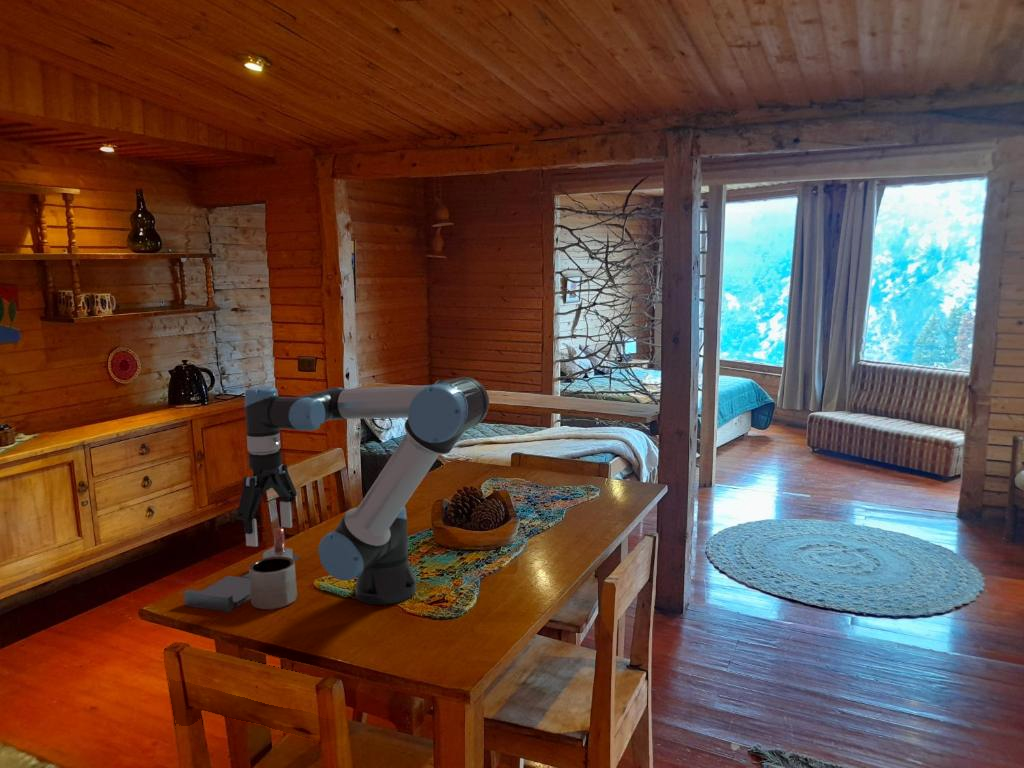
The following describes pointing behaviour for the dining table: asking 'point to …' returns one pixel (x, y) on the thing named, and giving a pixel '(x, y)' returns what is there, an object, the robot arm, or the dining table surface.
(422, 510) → the dining table surface
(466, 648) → the dining table surface
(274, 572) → the planter
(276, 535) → the pink cylinder stand
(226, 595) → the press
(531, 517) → the dining table surface
